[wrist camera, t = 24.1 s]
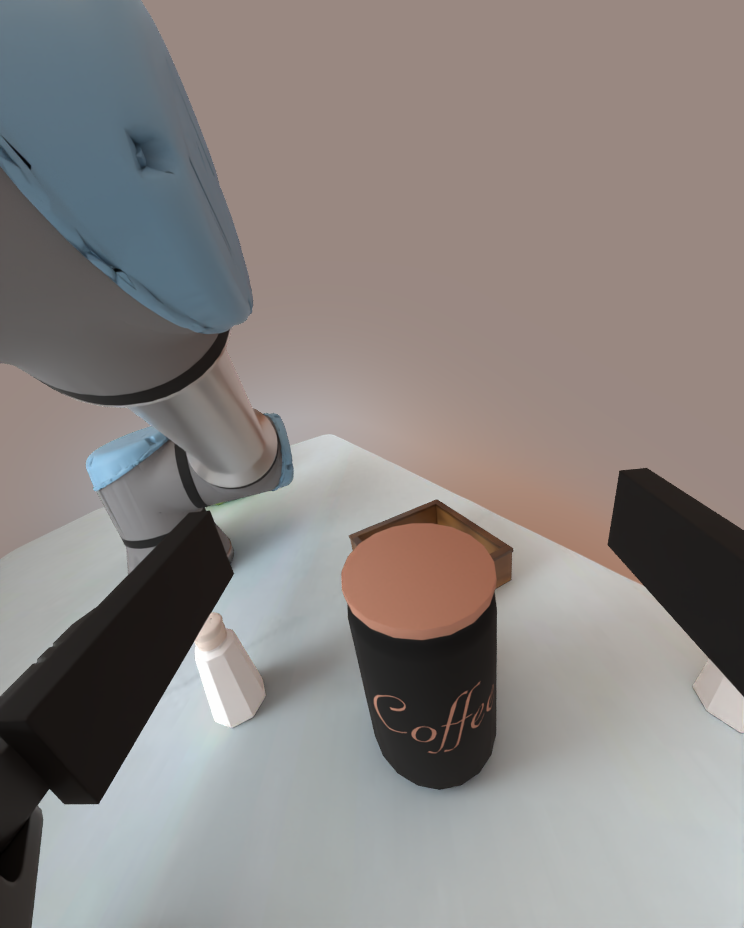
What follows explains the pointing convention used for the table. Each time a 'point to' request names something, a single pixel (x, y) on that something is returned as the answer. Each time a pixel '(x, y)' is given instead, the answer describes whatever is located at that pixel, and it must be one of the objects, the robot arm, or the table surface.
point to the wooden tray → (448, 517)
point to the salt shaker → (720, 696)
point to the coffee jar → (426, 648)
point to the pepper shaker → (227, 674)
